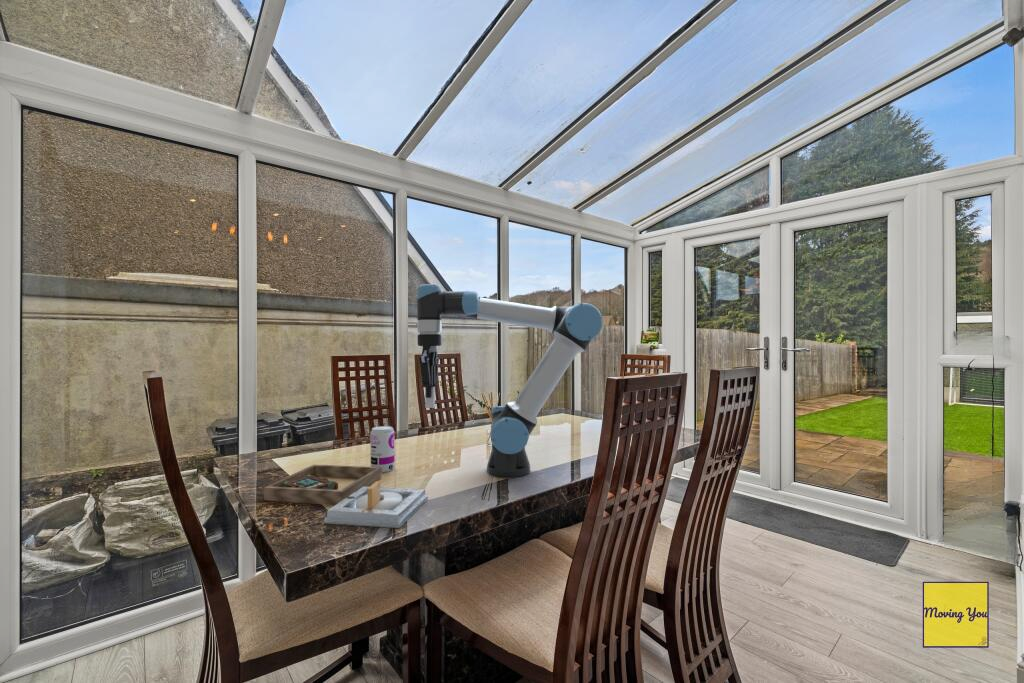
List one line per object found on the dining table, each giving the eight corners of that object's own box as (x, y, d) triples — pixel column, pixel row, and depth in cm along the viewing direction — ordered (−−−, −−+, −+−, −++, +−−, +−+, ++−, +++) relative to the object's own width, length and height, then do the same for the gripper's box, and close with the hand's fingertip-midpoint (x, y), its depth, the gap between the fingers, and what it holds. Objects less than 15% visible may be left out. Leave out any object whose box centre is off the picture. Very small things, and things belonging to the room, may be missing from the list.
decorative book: (304, 483, 150) (304, 468, 150) (339, 493, 141) (339, 476, 140) (264, 495, 139) (264, 479, 139) (299, 507, 129) (298, 489, 129)
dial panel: (427, 499, 133) (427, 488, 133) (399, 528, 113) (399, 514, 113) (362, 496, 136) (362, 485, 136) (324, 523, 116) (324, 510, 116)
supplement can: (398, 467, 167) (397, 425, 166) (389, 474, 158) (389, 430, 158) (376, 466, 167) (375, 425, 167) (366, 473, 159) (366, 430, 159)
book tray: (381, 479, 152) (381, 467, 152) (342, 506, 128) (342, 491, 128) (314, 476, 157) (314, 464, 157) (264, 501, 133) (263, 487, 132)
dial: (366, 497, 131) (365, 473, 131) (407, 497, 130) (407, 474, 130) (347, 514, 118) (346, 488, 118) (393, 515, 118) (392, 489, 117)
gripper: (425, 333, 154) (426, 404, 154) (410, 333, 141) (411, 410, 141) (447, 333, 153) (447, 404, 153) (433, 333, 140) (434, 411, 140)
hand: (430, 407), depth 147 cm, fingers closed
